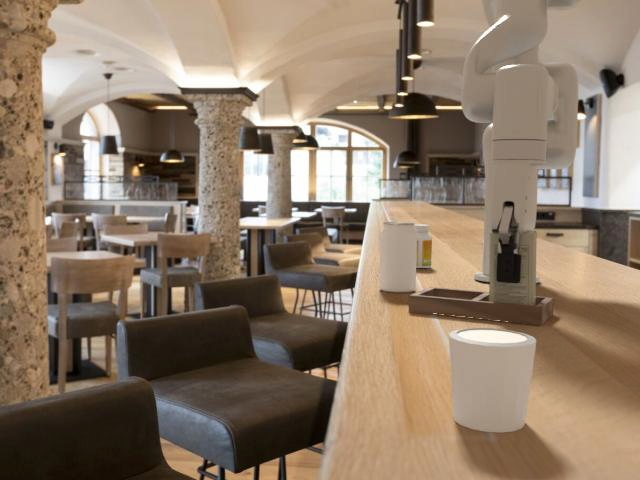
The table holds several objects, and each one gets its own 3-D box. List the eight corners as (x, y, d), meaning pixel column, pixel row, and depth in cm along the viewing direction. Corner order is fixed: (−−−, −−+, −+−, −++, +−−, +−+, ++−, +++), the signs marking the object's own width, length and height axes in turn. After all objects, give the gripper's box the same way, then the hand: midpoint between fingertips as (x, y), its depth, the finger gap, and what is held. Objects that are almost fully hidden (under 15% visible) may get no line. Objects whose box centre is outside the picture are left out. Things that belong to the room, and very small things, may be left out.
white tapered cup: (436, 407, 60) (439, 326, 60) (514, 406, 61) (518, 326, 60) (458, 436, 54) (462, 345, 53) (546, 434, 54) (550, 345, 54)
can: (414, 294, 122) (416, 224, 121) (376, 292, 123) (378, 223, 122) (416, 288, 128) (418, 222, 127) (381, 287, 129) (382, 221, 128)
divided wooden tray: (429, 302, 113) (430, 286, 113) (553, 314, 105) (553, 297, 105) (408, 312, 105) (409, 295, 104) (541, 325, 96) (542, 307, 96)
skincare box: (535, 313, 103) (539, 230, 102) (532, 319, 99) (536, 233, 98) (491, 309, 106) (494, 228, 105) (486, 315, 102) (489, 230, 101)
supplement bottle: (430, 266, 163) (431, 224, 162) (431, 269, 157) (433, 225, 156) (406, 265, 163) (407, 223, 162) (407, 268, 158) (408, 225, 157)
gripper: (505, 156, 110) (500, 271, 112) (476, 151, 95) (471, 284, 96) (555, 156, 107) (549, 275, 108) (534, 151, 91) (528, 289, 93)
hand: (513, 278), depth 102 cm, fingers open, 6 cm apart
